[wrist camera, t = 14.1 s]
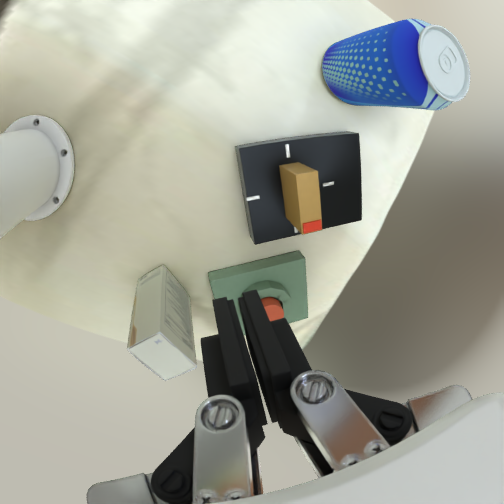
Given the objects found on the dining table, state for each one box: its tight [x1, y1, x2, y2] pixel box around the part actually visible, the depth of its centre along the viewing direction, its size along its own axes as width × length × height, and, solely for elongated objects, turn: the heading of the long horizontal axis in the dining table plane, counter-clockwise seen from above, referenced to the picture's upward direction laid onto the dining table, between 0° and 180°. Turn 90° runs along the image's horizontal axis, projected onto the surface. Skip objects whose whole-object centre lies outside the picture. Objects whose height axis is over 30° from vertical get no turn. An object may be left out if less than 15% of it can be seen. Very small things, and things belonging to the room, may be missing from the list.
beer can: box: [322, 19, 470, 110], centre depth 21 cm, size 8×8×16 cm
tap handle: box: [279, 162, 322, 235], centre depth 28 cm, size 6×2×5 cm, turn 10°
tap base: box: [235, 132, 362, 245], centre depth 32 cm, size 14×11×3 cm
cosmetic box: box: [127, 265, 197, 381], centre depth 30 cm, size 6×4×12 cm
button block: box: [208, 251, 308, 335], centre depth 37 cm, size 12×10×4 cm
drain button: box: [261, 297, 284, 321], centre depth 35 cm, size 4×4×2 cm
